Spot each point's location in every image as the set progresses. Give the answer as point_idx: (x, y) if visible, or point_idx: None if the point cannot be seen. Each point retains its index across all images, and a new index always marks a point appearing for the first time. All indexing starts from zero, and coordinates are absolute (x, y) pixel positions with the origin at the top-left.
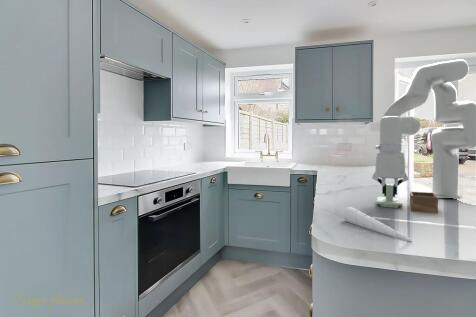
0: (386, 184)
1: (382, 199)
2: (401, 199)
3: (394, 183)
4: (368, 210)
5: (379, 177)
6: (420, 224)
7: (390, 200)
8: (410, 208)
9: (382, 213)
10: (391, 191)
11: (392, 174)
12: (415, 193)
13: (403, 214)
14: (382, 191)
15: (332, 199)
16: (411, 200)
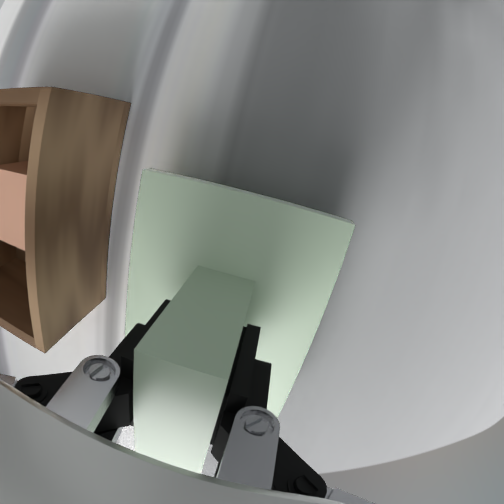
0: (210, 433)
1: (269, 338)
2: None
3: (109, 391)
4: (419, 121)
5: (329, 500)
6: None
7: (216, 272)
8: (108, 175)
9: (338, 29)
10: (182, 311)
11: (52, 480)
12: (23, 322)
13: (196, 30)
14: (269, 373)
15: (480, 423)
16: (77, 91)
